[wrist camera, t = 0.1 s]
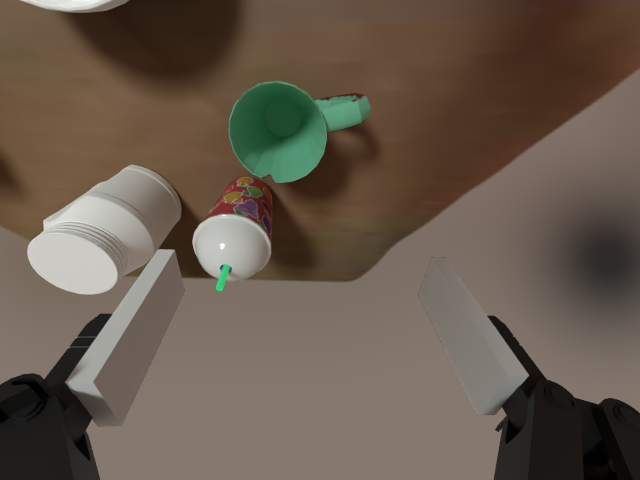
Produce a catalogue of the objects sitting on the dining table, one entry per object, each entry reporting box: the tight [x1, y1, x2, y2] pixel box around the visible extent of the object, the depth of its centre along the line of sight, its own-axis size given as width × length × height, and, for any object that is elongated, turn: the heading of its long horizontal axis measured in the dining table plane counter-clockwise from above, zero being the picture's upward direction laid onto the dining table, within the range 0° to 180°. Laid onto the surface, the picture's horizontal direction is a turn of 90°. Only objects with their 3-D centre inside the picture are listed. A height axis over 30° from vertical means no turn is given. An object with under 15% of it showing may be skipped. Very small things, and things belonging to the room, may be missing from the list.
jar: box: [27, 165, 182, 294], centre depth 36 cm, size 12×10×15 cm
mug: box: [229, 81, 370, 183], centre depth 32 cm, size 15×10×10 cm
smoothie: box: [192, 177, 273, 291], centre depth 34 cm, size 8×8×20 cm
